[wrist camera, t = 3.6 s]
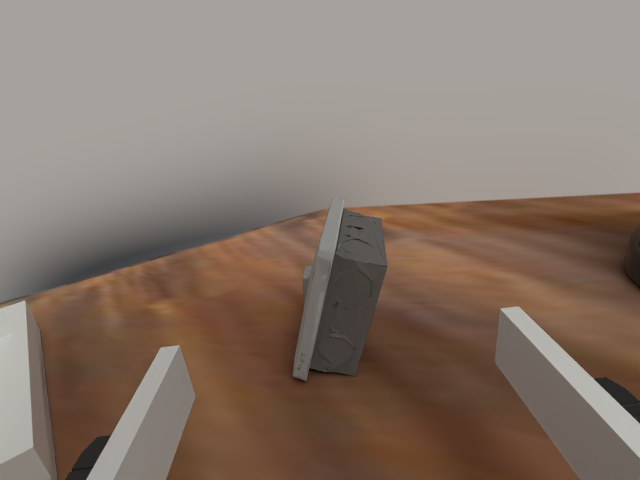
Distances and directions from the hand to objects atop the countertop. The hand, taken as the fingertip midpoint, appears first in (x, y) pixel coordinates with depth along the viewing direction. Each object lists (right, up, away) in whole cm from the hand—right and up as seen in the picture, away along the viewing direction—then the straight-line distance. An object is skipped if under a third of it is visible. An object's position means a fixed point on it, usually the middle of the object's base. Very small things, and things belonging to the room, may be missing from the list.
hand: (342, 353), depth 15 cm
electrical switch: (+1, -2, +11) cm, 11 cm away
